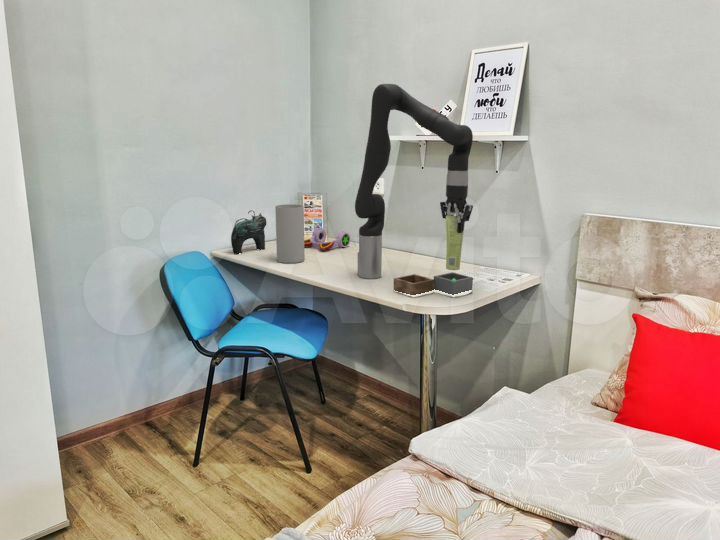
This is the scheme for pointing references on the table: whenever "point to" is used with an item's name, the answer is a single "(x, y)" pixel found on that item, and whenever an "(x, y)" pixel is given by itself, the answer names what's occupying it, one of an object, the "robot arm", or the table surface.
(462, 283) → the socket block
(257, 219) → the ceramic cat
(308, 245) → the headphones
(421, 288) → the brown wooden square frame
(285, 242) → the cylinder vase
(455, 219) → the tube
